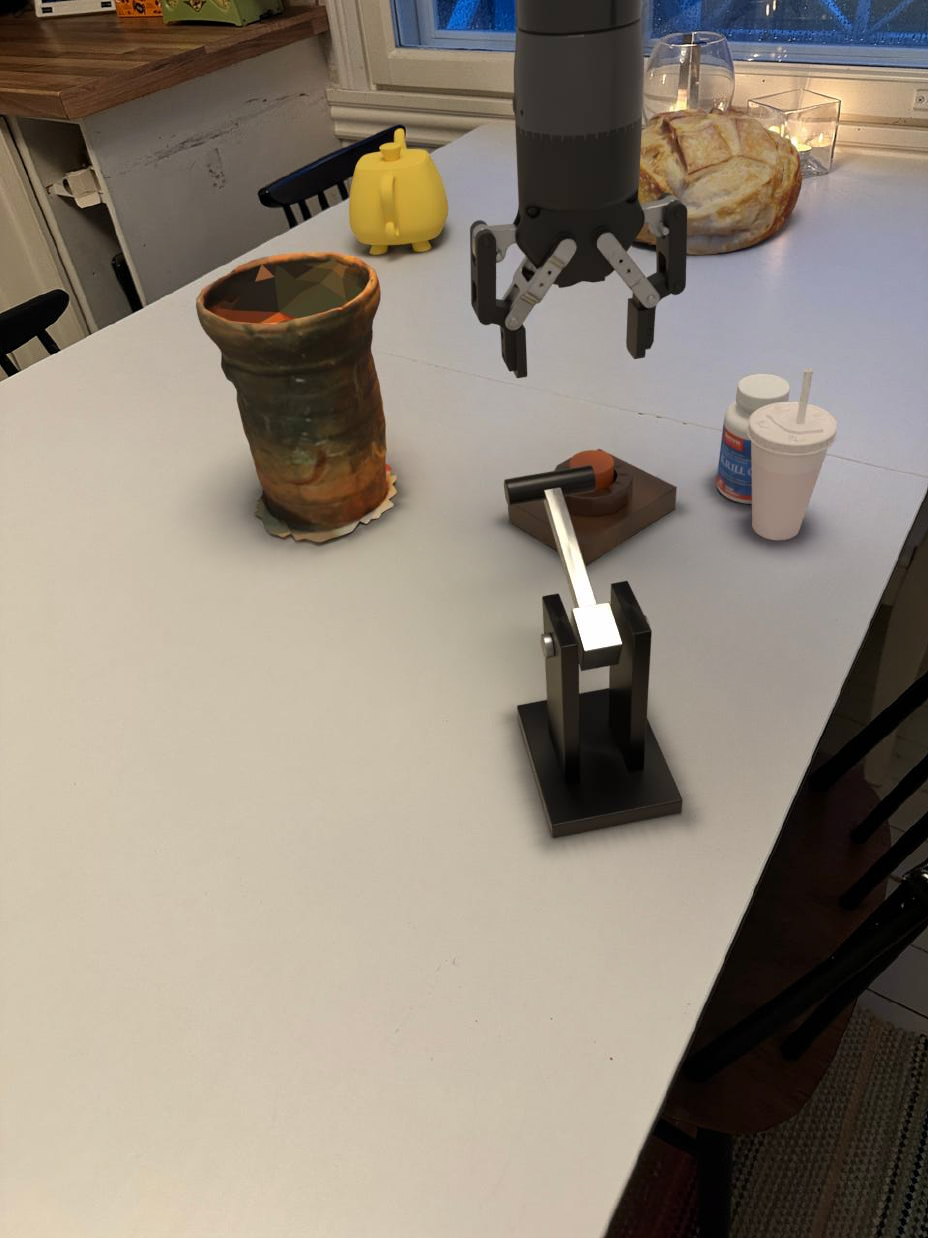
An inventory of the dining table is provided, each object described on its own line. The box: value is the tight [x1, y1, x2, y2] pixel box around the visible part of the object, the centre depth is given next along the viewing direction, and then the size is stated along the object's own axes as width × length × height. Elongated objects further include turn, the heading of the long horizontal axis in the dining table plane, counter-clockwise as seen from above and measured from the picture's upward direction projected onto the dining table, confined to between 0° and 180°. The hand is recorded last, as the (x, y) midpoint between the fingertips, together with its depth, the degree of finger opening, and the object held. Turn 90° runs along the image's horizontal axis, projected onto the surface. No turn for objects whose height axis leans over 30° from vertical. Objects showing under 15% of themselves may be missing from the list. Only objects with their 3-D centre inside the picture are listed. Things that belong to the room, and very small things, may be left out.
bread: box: [634, 105, 803, 256], centre depth 122 cm, size 25×27×15 cm
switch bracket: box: [516, 580, 684, 838], centre depth 55 cm, size 10×8×13 cm
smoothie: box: [747, 368, 838, 541], centre depth 71 cm, size 6×6×14 cm
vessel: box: [195, 252, 398, 543], centre depth 78 cm, size 14×14×20 cm
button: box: [570, 449, 614, 490], centre depth 76 cm, size 4×4×2 cm
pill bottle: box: [716, 373, 791, 505], centre depth 77 cm, size 6×5×10 cm
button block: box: [507, 448, 678, 566], centre depth 78 cm, size 11×9×4 cm
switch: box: [503, 465, 623, 672], centre depth 55 cm, size 13×6×2 cm, turn 10°
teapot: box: [348, 128, 449, 256], centre depth 129 cm, size 14×20×13 cm
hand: (578, 363), depth 66 cm, fingers open, 8 cm apart
